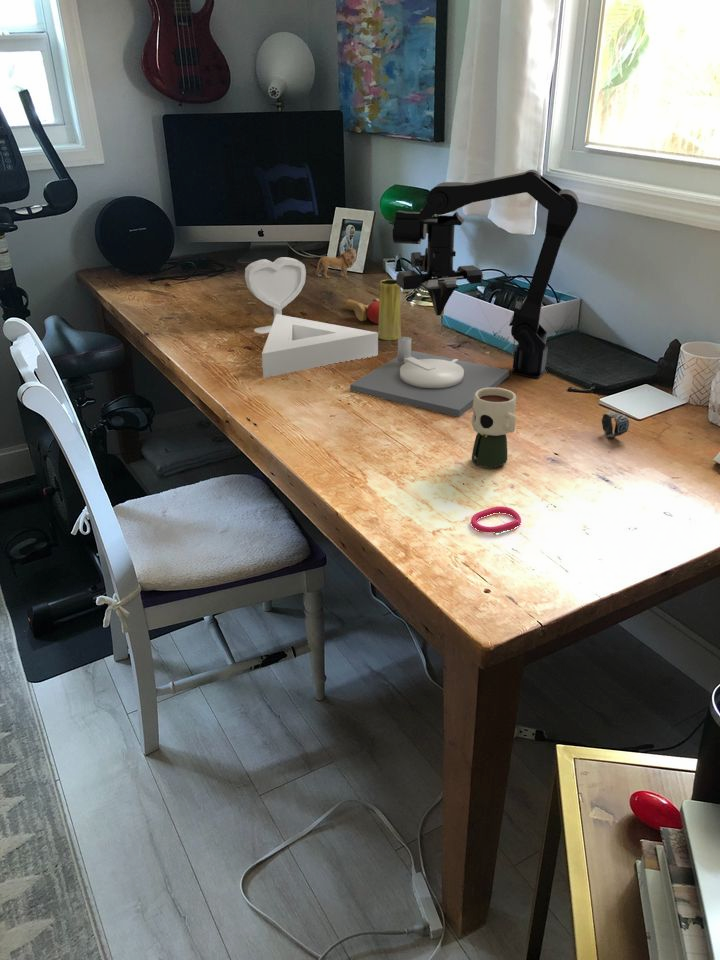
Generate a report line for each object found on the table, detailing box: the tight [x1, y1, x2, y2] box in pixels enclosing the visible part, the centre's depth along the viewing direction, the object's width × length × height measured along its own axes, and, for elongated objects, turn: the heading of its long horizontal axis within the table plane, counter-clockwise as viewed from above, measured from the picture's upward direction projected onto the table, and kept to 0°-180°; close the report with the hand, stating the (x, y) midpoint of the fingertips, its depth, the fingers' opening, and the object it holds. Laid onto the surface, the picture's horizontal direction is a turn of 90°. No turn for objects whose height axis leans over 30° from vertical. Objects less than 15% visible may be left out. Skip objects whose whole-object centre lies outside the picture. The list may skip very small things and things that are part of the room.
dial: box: [397, 336, 464, 388], centre depth 168 cm, size 18×14×6 cm
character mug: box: [471, 387, 517, 469], centre depth 132 cm, size 11×7×13 cm, turn 30°
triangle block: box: [261, 314, 379, 379], centre depth 180 cm, size 30×26×6 cm
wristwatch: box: [601, 411, 630, 438], centre depth 143 cm, size 3×5×5 cm, turn 16°
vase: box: [377, 278, 402, 341], centre depth 193 cm, size 6×6×14 cm
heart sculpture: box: [244, 256, 307, 335], centre depth 199 cm, size 16×5×18 cm, turn 116°
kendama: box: [344, 298, 380, 325], centre depth 210 cm, size 8×6×18 cm
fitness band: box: [470, 506, 522, 534], centre depth 118 cm, size 8×6×2 cm
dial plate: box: [349, 350, 510, 418], centre depth 168 cm, size 26×26×2 cm
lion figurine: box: [313, 247, 358, 279], centre depth 248 cm, size 15×5×9 cm, turn 105°
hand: (438, 315), depth 174 cm, fingers closed
